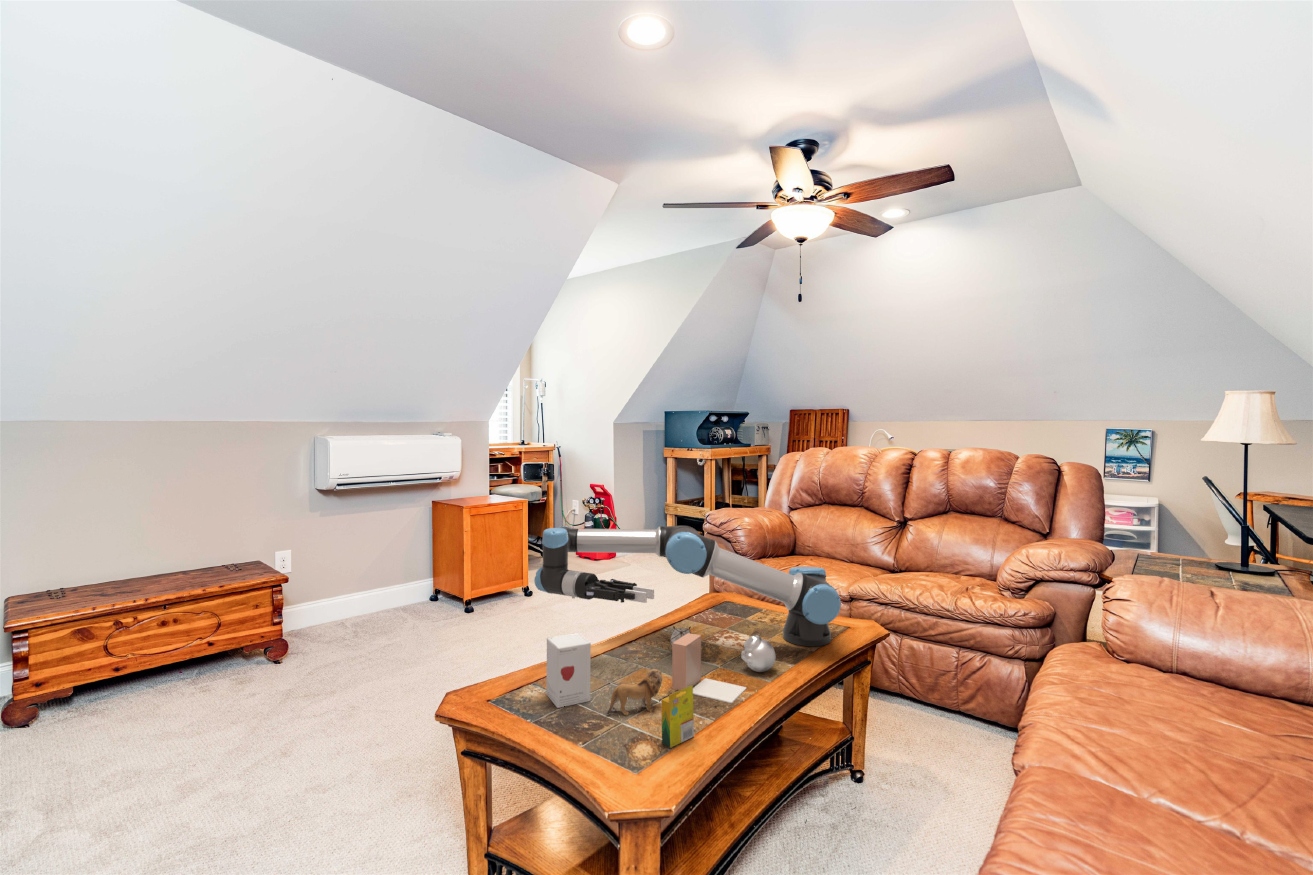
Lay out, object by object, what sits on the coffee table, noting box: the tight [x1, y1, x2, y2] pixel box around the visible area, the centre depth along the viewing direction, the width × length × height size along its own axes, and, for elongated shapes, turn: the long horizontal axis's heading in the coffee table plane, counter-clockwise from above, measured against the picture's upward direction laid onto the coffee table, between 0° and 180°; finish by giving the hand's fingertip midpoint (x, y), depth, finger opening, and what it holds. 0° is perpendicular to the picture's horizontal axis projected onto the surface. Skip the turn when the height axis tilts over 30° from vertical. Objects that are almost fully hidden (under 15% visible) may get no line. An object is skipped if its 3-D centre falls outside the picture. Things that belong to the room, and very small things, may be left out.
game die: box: [667, 625, 692, 647], centre depth 187 cm, size 9×8×10 cm
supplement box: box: [545, 632, 592, 709], centre depth 157 cm, size 9×9×15 cm
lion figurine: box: [605, 668, 663, 717], centre depth 150 cm, size 15×5×9 cm, turn 117°
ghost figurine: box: [740, 634, 776, 673], centre depth 174 cm, size 9×10×10 cm
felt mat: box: [693, 677, 747, 704], centre depth 161 cm, size 12×10×1 cm
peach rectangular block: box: [671, 633, 702, 691], centre depth 166 cm, size 4×9×12 cm, turn 150°
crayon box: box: [660, 685, 695, 749], centre depth 136 cm, size 7×3×12 cm, turn 131°
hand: (649, 595), depth 171 cm, fingers open, 3 cm apart
